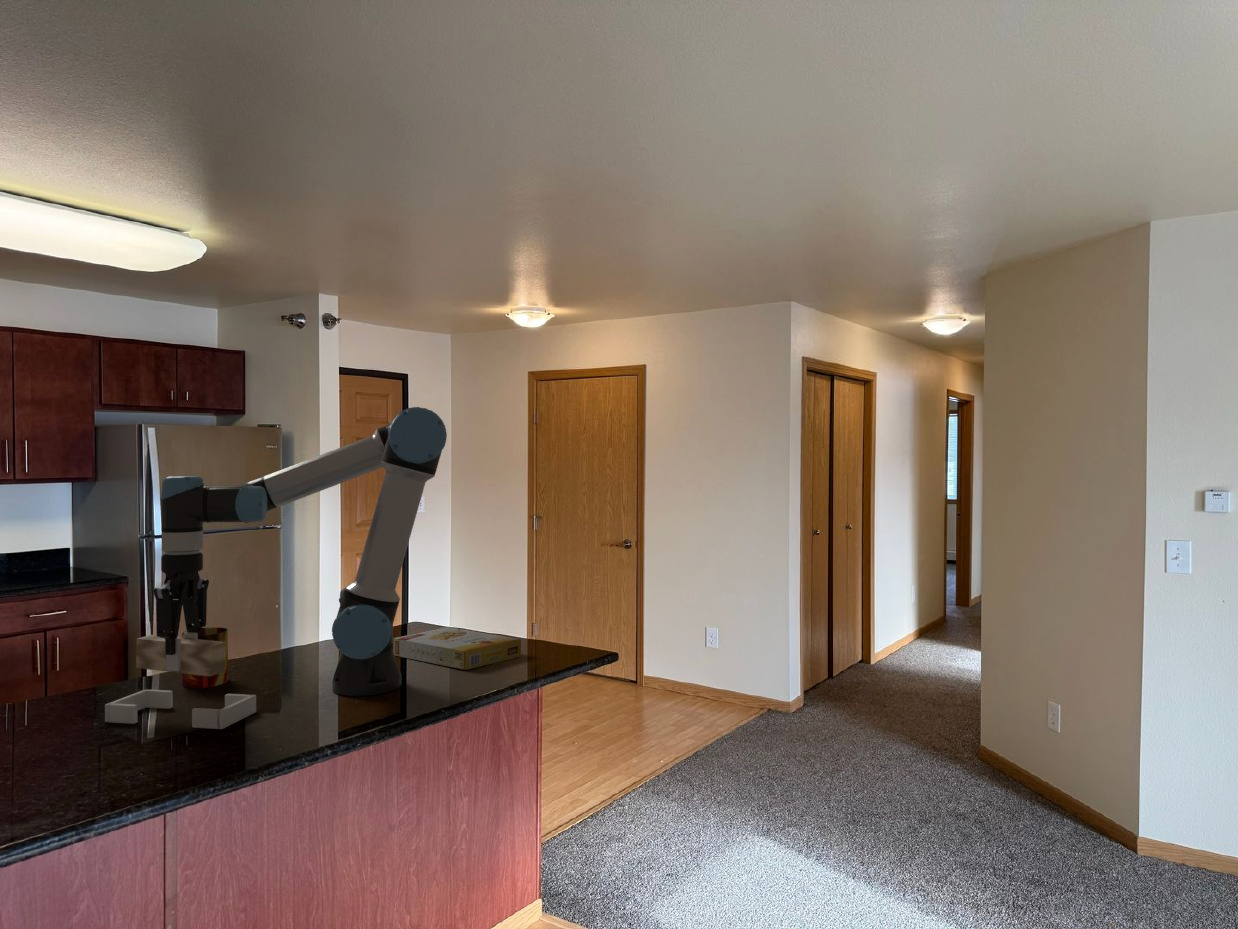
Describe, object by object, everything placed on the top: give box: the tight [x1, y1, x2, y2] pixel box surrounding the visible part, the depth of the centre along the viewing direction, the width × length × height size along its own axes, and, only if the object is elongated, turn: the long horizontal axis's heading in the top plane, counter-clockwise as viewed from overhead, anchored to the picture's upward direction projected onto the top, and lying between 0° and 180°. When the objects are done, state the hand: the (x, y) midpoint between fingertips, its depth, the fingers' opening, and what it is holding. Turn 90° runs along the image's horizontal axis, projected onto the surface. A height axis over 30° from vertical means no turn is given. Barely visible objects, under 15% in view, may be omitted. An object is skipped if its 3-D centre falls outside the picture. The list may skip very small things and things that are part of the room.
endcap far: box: [104, 688, 174, 725], centre depth 173 cm, size 6×11×4 cm, turn 169°
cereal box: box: [393, 626, 522, 671], centre depth 222 cm, size 20×6×28 cm
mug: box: [181, 626, 229, 689], centre depth 196 cm, size 10×14×12 cm
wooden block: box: [135, 634, 225, 676], centre depth 171 cm, size 18×4×6 cm, turn 75°
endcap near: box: [191, 693, 257, 730], centre depth 169 cm, size 6×11×4 cm, turn 170°
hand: (182, 667), depth 171 cm, fingers closed on wooden block, 4 cm apart
